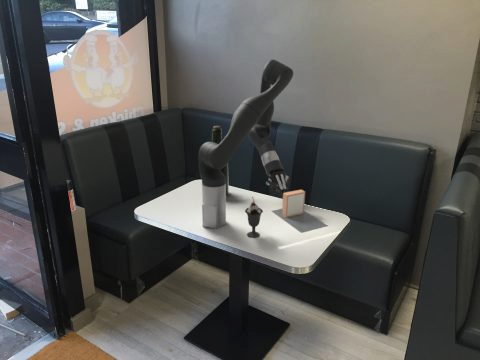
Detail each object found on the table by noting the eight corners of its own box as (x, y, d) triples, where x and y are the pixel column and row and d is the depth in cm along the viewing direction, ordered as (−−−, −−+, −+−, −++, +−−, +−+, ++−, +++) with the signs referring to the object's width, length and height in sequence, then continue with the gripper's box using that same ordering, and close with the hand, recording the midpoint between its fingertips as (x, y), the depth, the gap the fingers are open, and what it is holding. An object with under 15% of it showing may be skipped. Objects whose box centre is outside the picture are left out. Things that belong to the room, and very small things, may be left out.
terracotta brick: (282, 215, 166) (283, 193, 163) (299, 211, 170) (301, 189, 167) (285, 217, 164) (287, 195, 160) (303, 213, 168) (305, 191, 164)
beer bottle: (203, 192, 191) (201, 125, 180) (222, 188, 196) (222, 122, 184) (211, 200, 182) (210, 129, 171) (232, 196, 187) (232, 127, 175)
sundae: (251, 229, 156) (252, 193, 151) (265, 234, 152) (266, 198, 147) (241, 235, 151) (241, 199, 146) (255, 240, 147) (256, 203, 142)
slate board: (327, 227, 158) (328, 225, 157) (301, 234, 152) (301, 232, 152) (296, 207, 176) (296, 205, 176) (271, 212, 170) (271, 211, 170)
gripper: (280, 165, 182) (294, 199, 176) (255, 169, 176) (269, 204, 171) (287, 157, 176) (302, 192, 170) (262, 161, 170) (276, 197, 164)
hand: (285, 198), depth 170 cm, fingers closed
